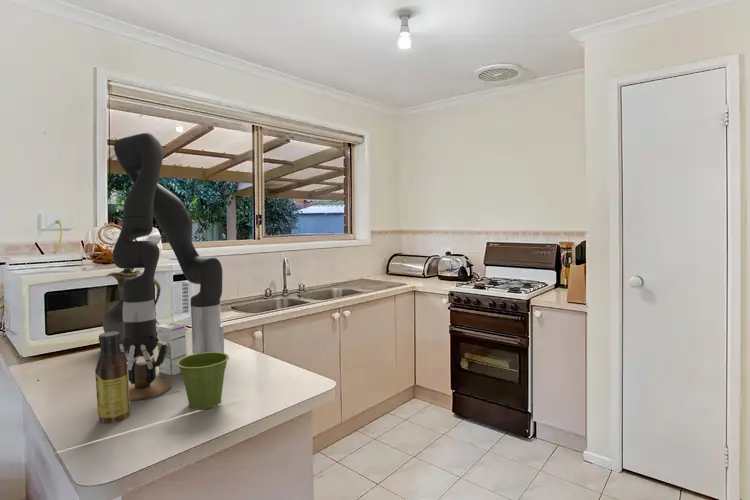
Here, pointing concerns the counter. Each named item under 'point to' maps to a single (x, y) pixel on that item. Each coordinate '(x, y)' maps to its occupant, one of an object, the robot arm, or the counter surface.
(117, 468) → the counter surface
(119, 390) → the sauce bottle
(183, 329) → the syrup box
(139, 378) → the walnut lid
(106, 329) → the pitcher
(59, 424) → the counter surface
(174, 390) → the rubber mat
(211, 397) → the plant pot
